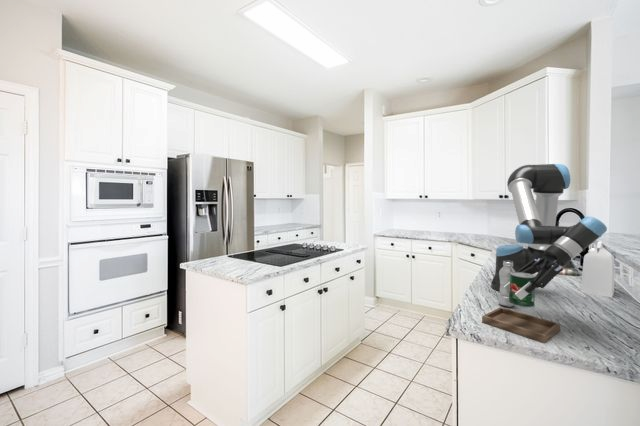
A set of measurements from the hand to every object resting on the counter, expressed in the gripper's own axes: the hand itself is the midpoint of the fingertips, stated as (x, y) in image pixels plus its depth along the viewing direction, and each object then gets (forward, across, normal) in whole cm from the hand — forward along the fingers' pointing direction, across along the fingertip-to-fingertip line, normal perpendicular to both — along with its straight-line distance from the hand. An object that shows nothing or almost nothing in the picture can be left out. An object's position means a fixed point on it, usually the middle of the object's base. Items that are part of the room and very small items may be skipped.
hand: (511, 293), depth 110 cm
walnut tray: (+7, 0, -11) cm, 13 cm away
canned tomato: (+1, 0, -5) cm, 5 cm away
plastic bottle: (+3, +22, -15) cm, 27 cm away
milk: (-37, +51, -54) cm, 83 cm away
